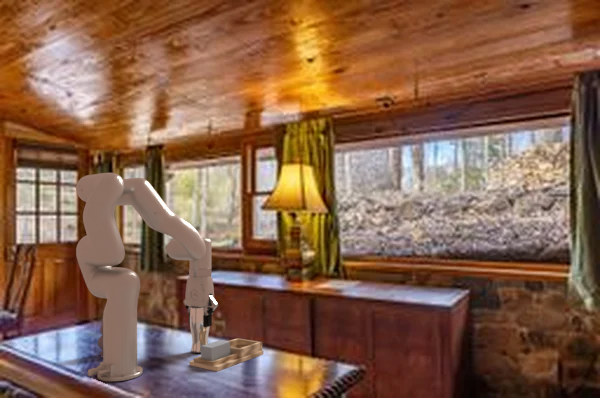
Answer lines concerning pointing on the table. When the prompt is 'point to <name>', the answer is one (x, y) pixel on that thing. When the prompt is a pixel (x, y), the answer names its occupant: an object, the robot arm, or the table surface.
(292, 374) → the table surface
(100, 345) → the cat figurine
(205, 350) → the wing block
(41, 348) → the table surface
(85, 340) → the table surface
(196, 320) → the beer glass
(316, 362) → the table surface
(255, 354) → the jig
